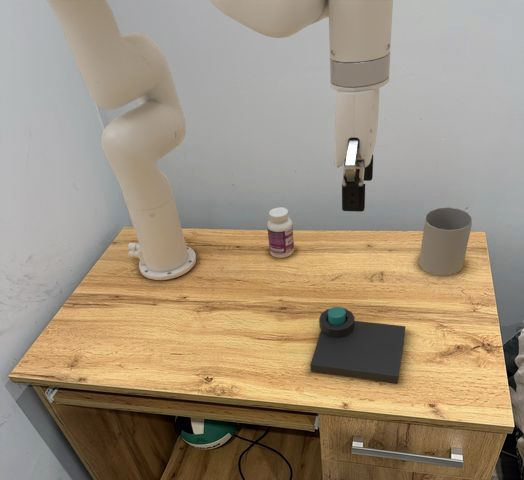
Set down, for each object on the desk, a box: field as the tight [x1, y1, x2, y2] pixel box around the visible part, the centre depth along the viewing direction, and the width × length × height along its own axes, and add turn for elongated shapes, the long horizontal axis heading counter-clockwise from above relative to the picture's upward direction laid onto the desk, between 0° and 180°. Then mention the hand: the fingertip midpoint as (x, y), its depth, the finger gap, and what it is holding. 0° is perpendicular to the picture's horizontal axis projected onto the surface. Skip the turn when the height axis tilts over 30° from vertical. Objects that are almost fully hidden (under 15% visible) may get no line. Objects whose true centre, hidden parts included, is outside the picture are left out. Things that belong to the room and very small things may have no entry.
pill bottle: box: [266, 206, 295, 259], centre depth 106 cm, size 5×5×10 cm
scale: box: [309, 307, 407, 384], centre depth 84 cm, size 14×13×4 cm
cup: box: [418, 207, 473, 277], centre depth 96 cm, size 8×8×10 cm
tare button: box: [328, 306, 346, 325], centre depth 86 cm, size 3×3×2 cm
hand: (357, 194), depth 76 cm, fingers open, 9 cm apart
